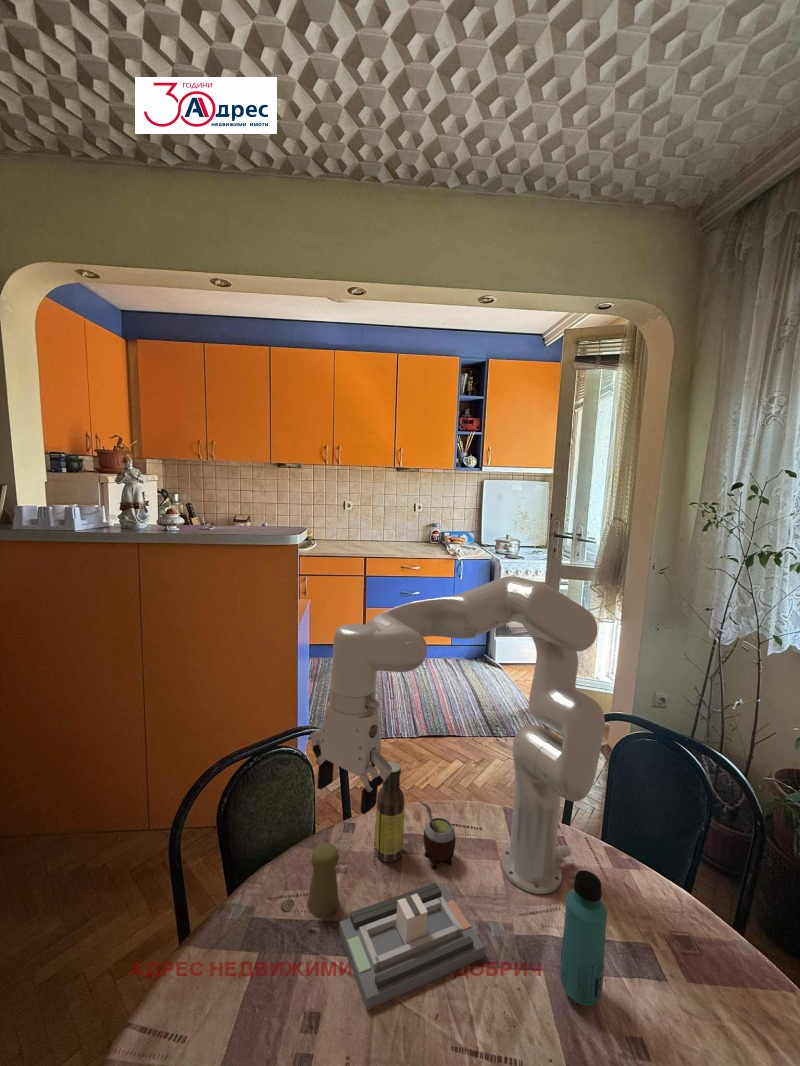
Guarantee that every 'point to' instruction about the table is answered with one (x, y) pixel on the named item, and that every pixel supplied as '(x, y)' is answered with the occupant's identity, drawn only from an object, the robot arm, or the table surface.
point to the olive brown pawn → (323, 880)
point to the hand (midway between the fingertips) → (345, 797)
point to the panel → (407, 946)
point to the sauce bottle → (390, 817)
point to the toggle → (411, 918)
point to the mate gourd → (439, 840)
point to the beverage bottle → (584, 940)
